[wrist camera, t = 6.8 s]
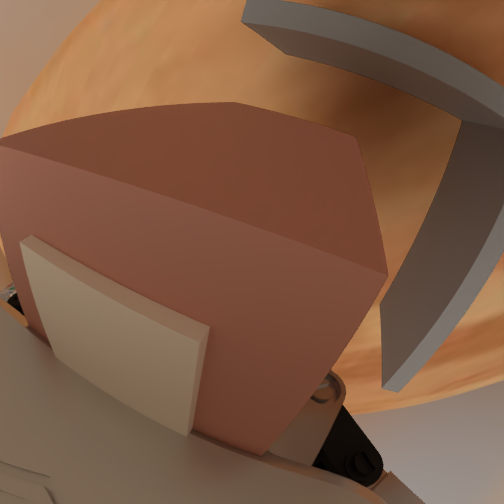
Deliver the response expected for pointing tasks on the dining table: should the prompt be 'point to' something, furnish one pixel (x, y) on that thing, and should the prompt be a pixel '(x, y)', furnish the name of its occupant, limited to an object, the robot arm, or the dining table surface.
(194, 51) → the dining table surface
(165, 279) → the boxed book
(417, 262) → the grey angle bracket
